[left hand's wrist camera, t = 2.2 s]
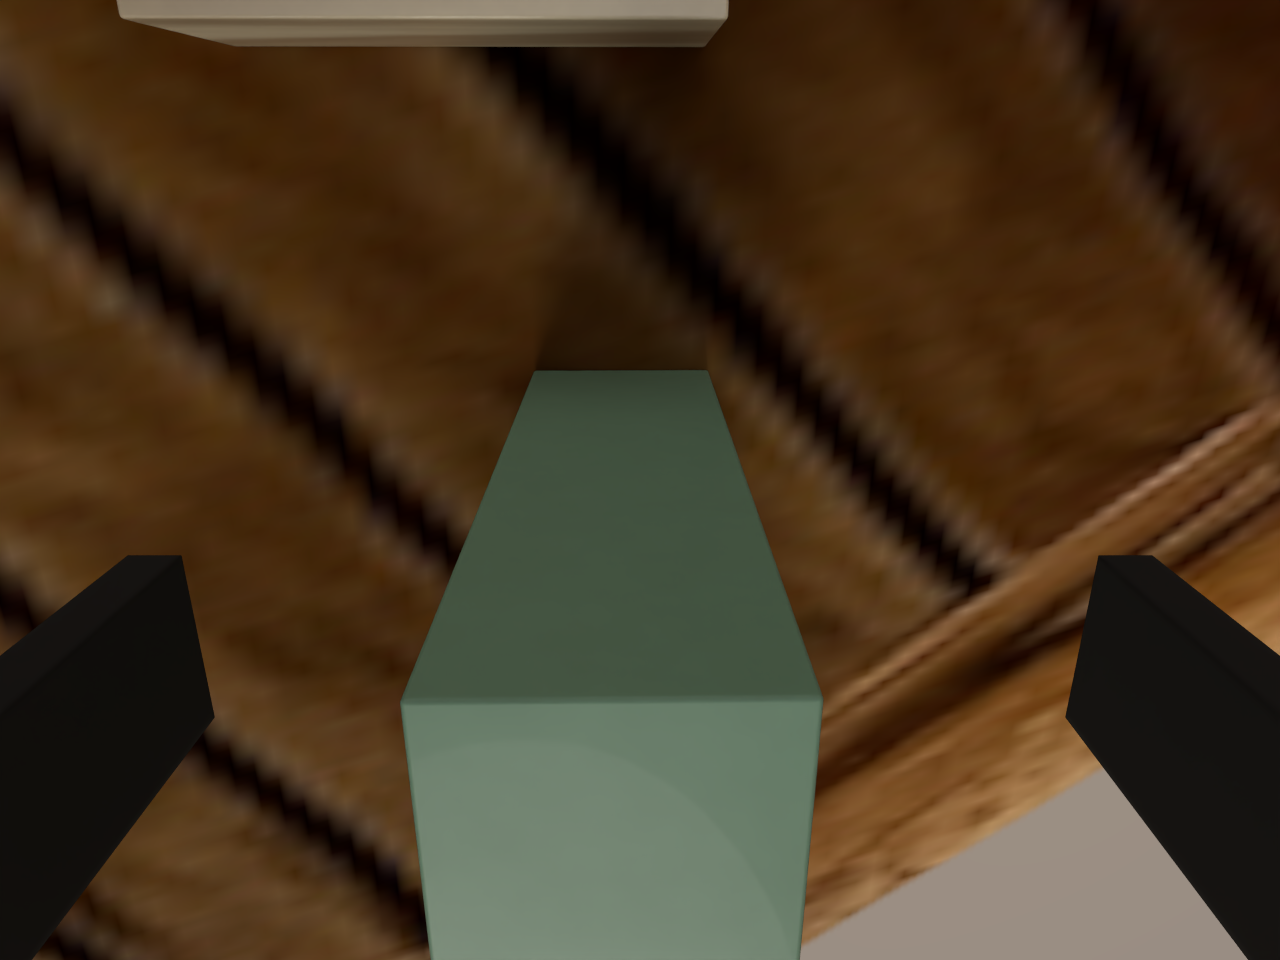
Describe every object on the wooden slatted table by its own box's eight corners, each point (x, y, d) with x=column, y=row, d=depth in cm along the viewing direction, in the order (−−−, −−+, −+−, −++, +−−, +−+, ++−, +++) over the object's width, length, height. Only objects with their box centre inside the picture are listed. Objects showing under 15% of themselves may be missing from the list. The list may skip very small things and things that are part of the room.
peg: (540, 529, 20) (434, 1006, 9) (533, 370, 19) (397, 701, 8) (703, 528, 20) (798, 1002, 9) (707, 369, 19) (826, 697, 8)
